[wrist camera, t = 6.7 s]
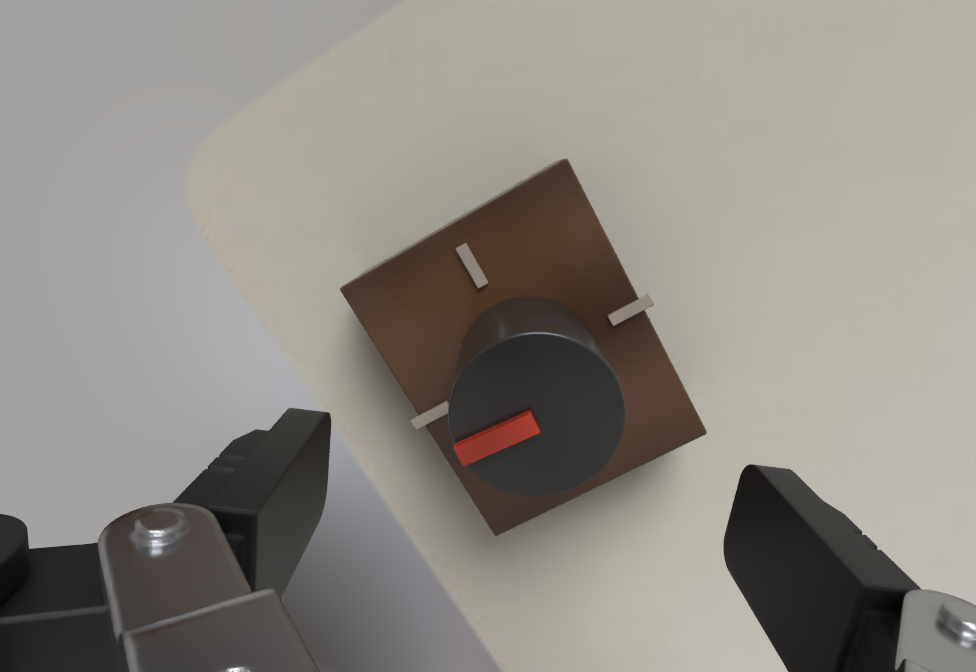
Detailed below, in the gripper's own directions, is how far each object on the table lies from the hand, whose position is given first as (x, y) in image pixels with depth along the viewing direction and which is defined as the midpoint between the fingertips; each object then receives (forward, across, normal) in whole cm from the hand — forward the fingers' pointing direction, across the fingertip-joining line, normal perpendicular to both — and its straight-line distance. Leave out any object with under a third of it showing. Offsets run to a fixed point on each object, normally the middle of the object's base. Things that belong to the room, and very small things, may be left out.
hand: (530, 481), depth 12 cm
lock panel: (+11, 0, 0) cm, 11 cm away
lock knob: (+8, 0, 0) cm, 8 cm away
